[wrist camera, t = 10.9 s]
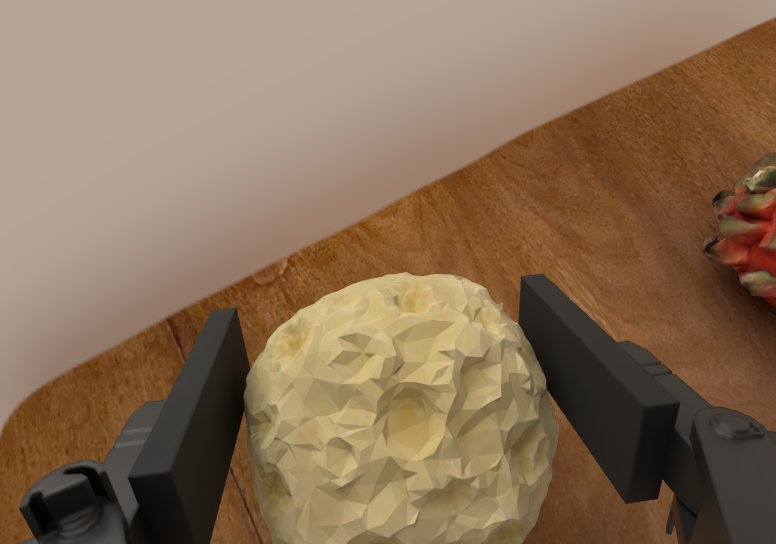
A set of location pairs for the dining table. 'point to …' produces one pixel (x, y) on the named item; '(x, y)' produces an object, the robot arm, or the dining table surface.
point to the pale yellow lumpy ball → (400, 419)
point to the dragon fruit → (749, 229)
